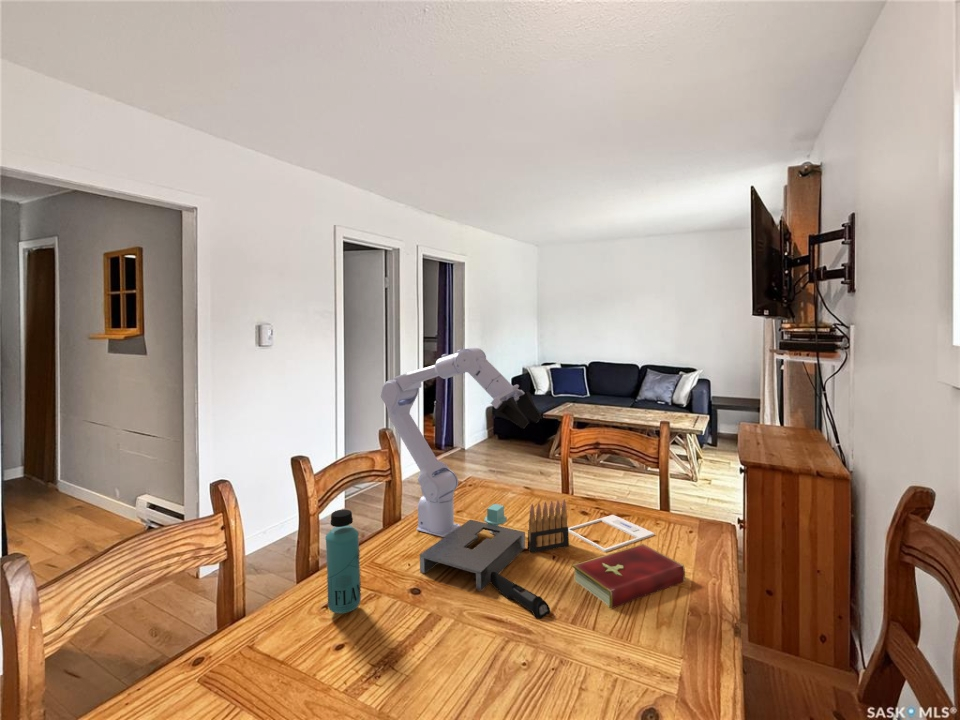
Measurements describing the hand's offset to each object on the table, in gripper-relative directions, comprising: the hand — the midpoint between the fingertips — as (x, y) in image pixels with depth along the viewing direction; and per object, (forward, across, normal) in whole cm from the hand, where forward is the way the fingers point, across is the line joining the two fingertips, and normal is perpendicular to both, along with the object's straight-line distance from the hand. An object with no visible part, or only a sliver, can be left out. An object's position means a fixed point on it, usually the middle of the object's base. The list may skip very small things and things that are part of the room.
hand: (532, 422), depth 114 cm
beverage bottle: (+4, -40, +39) cm, 56 cm away
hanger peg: (+11, +6, +33) cm, 36 cm away
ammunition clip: (+23, +4, +23) cm, 33 cm away
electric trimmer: (+25, -20, +21) cm, 39 cm away
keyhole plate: (+13, -10, +31) cm, 35 cm away
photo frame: (+32, +20, +16) cm, 41 cm away
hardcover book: (+39, -2, +10) cm, 40 cm away
